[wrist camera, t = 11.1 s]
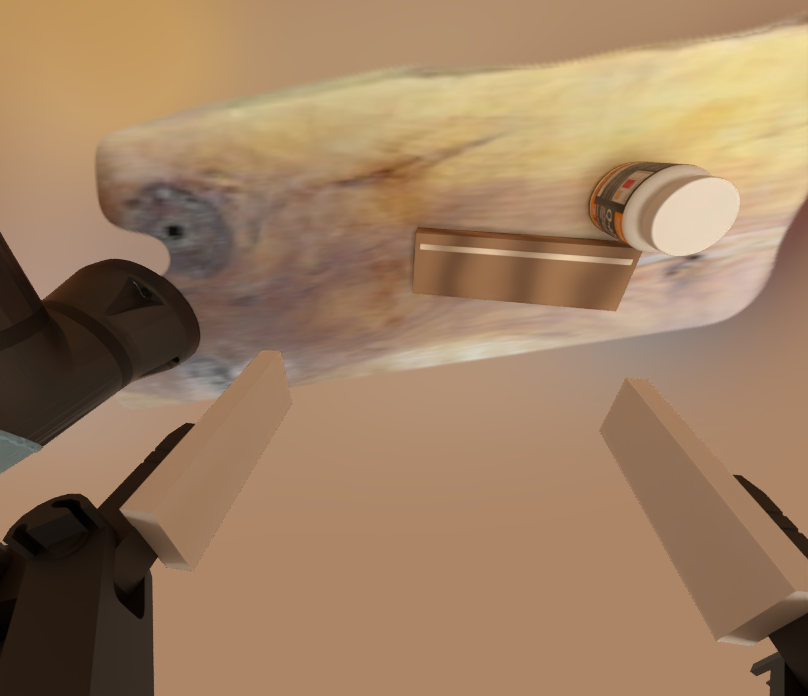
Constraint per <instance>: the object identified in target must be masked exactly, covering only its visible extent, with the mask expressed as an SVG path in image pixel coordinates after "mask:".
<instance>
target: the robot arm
mask: <svg viewBox="0 0 808 696" xmlns="http://www.w3.org/2000/svg"><path fill="white" fill-rule="evenodd" d="M198 344H199V328H198V324H197V321H196V318H195V316H194V314H193V312H192V310H191V308H190V307H189V305H188V304H187V302H186V301H185V299H184V298H183V297H182V296H181V294H180V293H179V292H178V291H177V290H176V289H175V288H174V287H173V286H172V285H171V284H170V283H169V282H167V281H166V280H165V279H164V278H162V277H161V276H160V275H158V274H157V273H155V272H153V271H152V270H150V269H148V268H146V267H144V266H142V265H140V264H137V263H134V262H131V261H127V260H122V259H108V260H104V261H100V262H97V263H94V264H91V265H88V266H85V267H84V268H82V269H80V270H78V271H77V272H76V273H75V274H74V275H72V276H71V277H70V278H69V279H67V280H66V281H65V282H64V283H63V284H61V285H60V286H59V287H58V288H57V289H55V290H54V291H53V292H52V293H51V294H50V295H48V296H47V297H46V298H45V299H43V300H40V298H39V296H38V295H37V293H36V291H35V290H34V288H33V286H32V285H31V283H30V282H29V280H28V278H27V277H26V275H25V273H24V272H23V270H22V268H21V266H20V265H19V263H18V261H17V260H16V258H15V257H14V255H13V253H12V251H11V250H10V248H9V246H8V245H7V243H6V241H5V240H4V238H3V236H2V234H1V232H0V474H1V473H3V472H4V471H6V470H7V469H9V468H10V467H12V466H14V465H15V464H17V463H18V462H20V461H22V460H23V459H24V458H26V457H28V456H29V455H31V454H33V453H35V452H38V451H40V450H41V449H42V448H43V446H44V445H46V444H47V443H48V442H50V441H51V440H53V439H54V438H55V437H57V436H58V435H59V434H61V433H62V432H64V431H65V430H66V429H68V428H69V427H70V426H72V425H73V424H74V423H76V422H77V421H79V420H80V419H81V418H83V417H84V416H85V415H87V414H88V413H89V412H91V411H92V410H94V409H95V408H96V407H97V406H99V405H100V404H102V403H103V402H104V401H106V400H107V399H109V398H110V397H111V396H113V395H114V394H116V393H117V392H118V391H120V390H121V389H122V388H124V387H125V386H127V385H128V384H130V383H131V382H134V381H137V380H139V379H142V378H145V377H148V376H151V375H154V374H157V373H160V372H163V371H166V370H169V369H172V368H174V367H176V366H178V365H180V364H181V363H182V362H184V361H185V360H186V359H188V358H189V357H190V356H191V355H192V354H193V353H194V352H195V351H196V349H197V347H198ZM291 404H292V400H291V396H290V391H289V387H288V382H287V378H286V373H285V369H284V364H283V360H282V356H281V351H269V350H262V351H261V352H260V353H259V354H258V355H257V356H256V357H255V358H254V360H253V361H252V362H251V363H250V364H249V365H248V366H247V367H246V368H245V370H244V371H243V372H242V373H241V374H240V375H239V376H238V377H237V379H236V380H235V381H234V382H233V383H232V384H231V385H230V386H229V387H228V389H227V390H226V391H225V392H224V393H223V394H222V395H221V396H220V397H219V399H218V400H217V401H216V402H215V403H214V404H213V405H212V406H211V408H210V409H209V410H208V411H207V412H206V413H205V414H204V415H203V416H202V418H201V419H200V420H199V421H198V422H197V423H196V424H192V423H185V424H184V425H182V426H181V427H179V428H178V429H176V430H175V431H173V432H172V433H170V434H169V435H168V436H167V437H166V438H165V439H164V440H163V441H162V442H161V443H160V444H159V445H158V446H157V447H156V448H155V451H152V452H151V453H150V454H149V456H148V457H147V458H146V459H145V460H144V463H141V464H140V465H139V466H138V467H137V468H136V469H135V470H134V471H133V472H132V473H131V474H130V475H129V476H128V477H127V479H125V480H124V482H123V483H122V484H121V485H120V486H119V487H118V488H117V489H116V490H115V491H114V492H113V493H112V494H111V495H110V496H109V497H108V498H107V499H106V500H105V501H104V502H103V503H102V504H101V506H100V507H99V508H98V509H96V507H95V506H94V505H93V504H92V503H91V502H90V501H89V499H88V498H86V497H85V496H83V495H81V494H66V495H63V496H59V497H55V498H53V499H51V500H48V501H46V502H44V503H42V504H40V505H38V506H37V507H35V508H34V509H32V510H31V511H29V512H28V513H26V514H25V515H23V516H22V517H21V518H20V519H19V520H18V521H17V522H16V523H15V524H14V525H13V526H12V527H11V528H10V529H9V531H8V532H7V534H6V536H5V537H4V539H3V541H4V542H5V543H6V544H8V545H3V544H2V543H1V542H0V696H154V667H153V604H152V603H153V601H152V575H151V572H150V568H151V566H152V565H153V563H154V562H155V560H156V559H157V557H158V558H159V559H160V561H161V562H162V563H163V564H164V566H165V567H166V568H172V569H180V570H187V571H194V569H195V567H196V565H197V564H198V562H199V560H200V559H201V557H202V555H203V554H204V552H205V550H206V549H207V547H208V545H209V543H210V542H211V540H212V538H213V537H214V535H215V533H216V532H217V530H218V528H219V527H220V525H221V523H222V521H223V520H224V518H225V516H226V515H227V513H228V511H229V510H230V508H231V506H232V504H233V502H234V501H235V499H236V497H237V496H238V494H239V493H240V491H241V489H242V488H243V486H244V484H245V482H246V481H247V479H248V477H249V476H250V474H251V472H252V471H253V469H254V467H255V466H256V464H257V462H258V460H259V459H260V457H261V455H262V454H263V452H264V450H265V448H266V447H267V445H268V443H269V442H270V440H271V438H272V437H273V435H274V433H275V431H276V430H277V428H278V427H279V425H280V423H281V421H282V420H283V418H284V416H285V415H286V413H287V411H288V410H289V408H290V406H291ZM600 433H601V435H602V437H603V438H604V440H605V442H606V444H607V446H608V447H609V449H610V451H611V453H612V454H613V456H614V458H615V460H616V462H617V464H618V465H619V467H620V469H621V471H622V473H623V474H624V476H625V478H626V480H627V482H628V483H629V485H630V487H631V489H632V490H633V492H634V494H635V496H636V498H637V500H638V501H639V503H640V505H641V506H642V509H643V510H644V512H645V514H646V516H647V518H648V519H649V521H650V523H651V525H652V527H653V528H654V530H655V532H656V534H657V535H658V537H659V539H660V541H661V542H662V544H663V546H664V548H665V550H666V551H667V553H668V555H669V557H670V559H671V561H672V562H673V564H674V566H675V568H676V570H677V571H678V573H679V575H680V577H681V579H682V580H683V582H684V584H685V586H686V587H687V589H688V591H689V593H690V595H691V596H692V598H693V600H694V602H695V604H696V606H697V607H698V609H699V611H700V613H701V615H702V616H703V618H704V620H705V622H706V623H707V625H708V627H709V629H710V631H711V633H712V634H713V636H714V638H715V640H716V641H719V642H726V643H734V644H741V645H749V646H752V645H753V644H755V643H757V642H759V641H761V640H762V639H764V638H766V637H769V638H770V639H771V641H772V642H773V644H774V645H775V647H776V648H777V650H778V652H776V653H774V654H772V655H770V656H768V657H766V658H765V659H763V660H761V661H758V662H757V663H755V664H753V666H752V668H751V671H750V672H752V673H753V674H754V675H756V676H758V675H760V674H762V673H765V672H767V671H769V670H771V674H770V680H769V681H767V682H766V684H768V685H769V686H770V696H808V539H807V538H806V537H805V536H804V535H803V534H802V533H799V532H798V528H797V527H796V526H795V525H794V524H793V523H792V522H791V521H790V520H789V519H788V518H787V517H786V516H783V514H782V511H781V510H780V509H779V508H778V507H777V506H776V505H775V504H774V503H773V502H772V501H771V500H770V498H769V497H767V495H766V494H765V493H764V492H763V491H761V490H760V489H758V488H757V487H756V486H754V485H753V484H752V483H750V482H749V481H747V480H746V479H745V478H744V477H742V476H740V475H732V474H731V473H730V472H729V471H728V469H727V468H726V467H725V466H724V465H723V464H722V463H721V461H720V460H719V459H718V458H717V457H716V456H715V455H714V454H713V452H712V451H711V450H710V449H709V448H708V447H707V446H706V445H705V443H704V442H703V441H702V440H701V439H700V438H699V437H698V436H697V434H695V432H694V431H693V430H692V429H691V428H690V427H689V425H688V424H687V423H686V422H685V421H684V420H683V419H682V418H681V416H680V415H679V414H678V413H677V412H676V411H675V410H674V409H673V407H672V406H671V405H670V404H669V403H668V402H667V401H666V400H665V398H664V397H663V396H662V395H661V394H660V393H659V392H658V391H657V389H655V387H654V386H653V385H652V384H651V383H650V382H649V381H648V380H646V379H634V378H626V379H625V380H624V382H623V385H622V386H621V389H620V391H619V392H618V395H617V396H616V398H615V401H614V403H613V405H612V406H611V409H610V410H609V413H608V414H607V416H606V419H605V420H604V422H603V425H602V426H601V428H600Z"/></svg>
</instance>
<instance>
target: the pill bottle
mask: <svg viewBox="0 0 808 696" xmlns="http://www.w3.org/2000/svg"><path fill="white" fill-rule="evenodd" d="M739 207H740V196H739V193H738V190H737V189H736V187H735V186H734V185H733V184H732V183H731V182H730V181H728V180H726V179H723V178H720V177H714V176H711V174H710V173H708V172H707V171H706V170H704V169H702V168H700V167H698V166H695V165H688V164H671V163H654V162H632V163H628V164H624V165H622V166H619V167H617V168H616V169H614V170H612V171H611V172H610V173H608V174H607V175H606V176H605V177H604V178H603V179H602V180H601V181H600V182H599V184H598V185H597V187H596V188H595V190H594V193H593V195H592V196H591V201H590V216H591V219H592V221H593V223H594V224H595V225H596V226H597V227H598V228H599V229H600V230H602V231H604V232H606V233H607V234H609V235H611V236H612V237H614V238H616V239H618V240H620V241H622V242H624V243H626V244H627V245H629V246H631V247H632V248H634V249H636V250H639V251H642V252H649V253H658V252H662V253H664V254H667V255H672V256H685V255H690V254H694V253H697V252H699V251H702V250H704V249H706V248H707V247H709V246H711V245H712V244H714V243H715V242H717V241H718V240H719V239H720V238H721V237H722V236H723V235H724V234H725V233H726V232H727V231H728V230H729V228H730V227H731V226H732V224H733V222H734V221H735V219H736V217H737V214H738V212H739Z"/></svg>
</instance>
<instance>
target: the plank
mask: <svg viewBox="0 0 808 696" xmlns="http://www.w3.org/2000/svg"><path fill="white" fill-rule="evenodd" d="M641 253H642V251H639V250H636V249H634V248H632V247H631V246H629V245H627V244H626V243H624V242H622V241H608V240H594V239H579V238H565V237H550V236H536V235H521V234H506V233H492V232H477V231H463V230H448V229H434V228H418V230H417V232H416V240H415V258H414V276H413V293H417V294H428V295H439V296H450V297H462V298H473V299H484V300H495V301H506V302H518V303H529V304H540V305H551V306H563V307H574V308H585V309H596V310H607V311H616V310H617V308H618V306H619V304H620V301H621V299H622V297H623V295H624V292H625V290H626V288H627V285H628V283H629V281H630V279H631V276H632V274H633V272H634V269H635V267H636V265H637V263H638V260H639V258H640V256H641Z"/></svg>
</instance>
